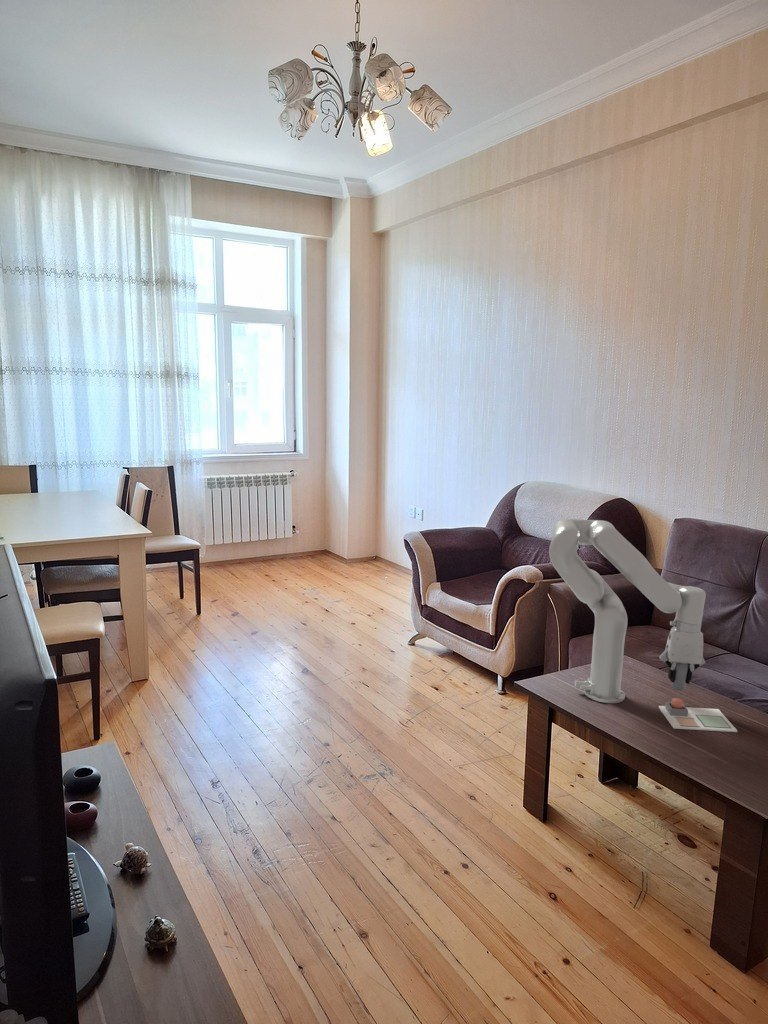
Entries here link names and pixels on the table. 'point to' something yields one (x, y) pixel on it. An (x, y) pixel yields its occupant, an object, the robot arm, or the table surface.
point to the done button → (677, 703)
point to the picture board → (697, 718)
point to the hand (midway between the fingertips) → (679, 680)
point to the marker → (680, 676)
